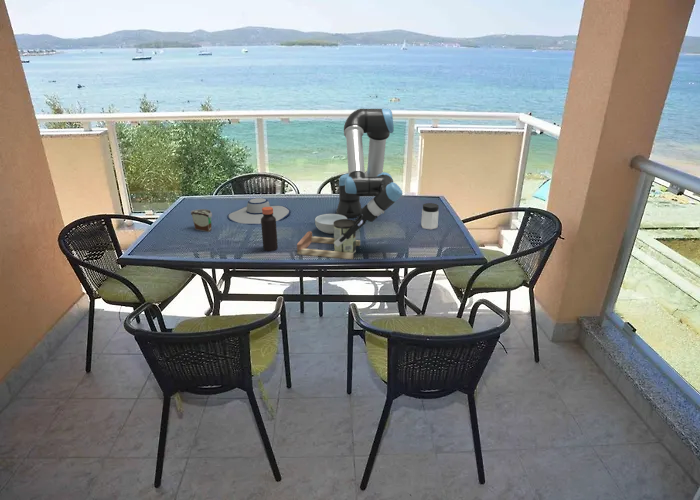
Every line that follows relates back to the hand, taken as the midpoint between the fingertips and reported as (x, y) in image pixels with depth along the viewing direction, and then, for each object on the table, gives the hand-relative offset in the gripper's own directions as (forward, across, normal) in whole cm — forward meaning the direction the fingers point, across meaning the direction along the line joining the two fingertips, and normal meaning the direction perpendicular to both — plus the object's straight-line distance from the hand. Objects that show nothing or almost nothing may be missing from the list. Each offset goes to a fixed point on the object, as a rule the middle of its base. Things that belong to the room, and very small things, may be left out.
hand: (338, 240), depth 208 cm
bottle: (+26, -5, +19) cm, 33 cm away
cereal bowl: (+11, +24, +3) cm, 26 cm away
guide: (+7, 0, 0) cm, 7 cm away
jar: (-24, +42, -32) cm, 58 cm away
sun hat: (+45, +42, +37) cm, 72 cm away
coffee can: (+2, 0, -6) cm, 6 cm away
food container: (+57, +14, +50) cm, 77 cm away
